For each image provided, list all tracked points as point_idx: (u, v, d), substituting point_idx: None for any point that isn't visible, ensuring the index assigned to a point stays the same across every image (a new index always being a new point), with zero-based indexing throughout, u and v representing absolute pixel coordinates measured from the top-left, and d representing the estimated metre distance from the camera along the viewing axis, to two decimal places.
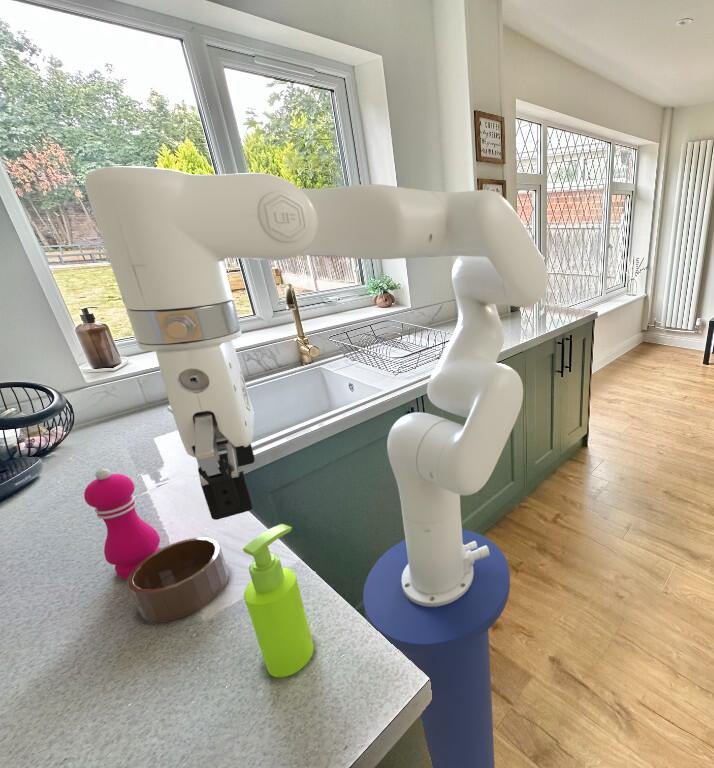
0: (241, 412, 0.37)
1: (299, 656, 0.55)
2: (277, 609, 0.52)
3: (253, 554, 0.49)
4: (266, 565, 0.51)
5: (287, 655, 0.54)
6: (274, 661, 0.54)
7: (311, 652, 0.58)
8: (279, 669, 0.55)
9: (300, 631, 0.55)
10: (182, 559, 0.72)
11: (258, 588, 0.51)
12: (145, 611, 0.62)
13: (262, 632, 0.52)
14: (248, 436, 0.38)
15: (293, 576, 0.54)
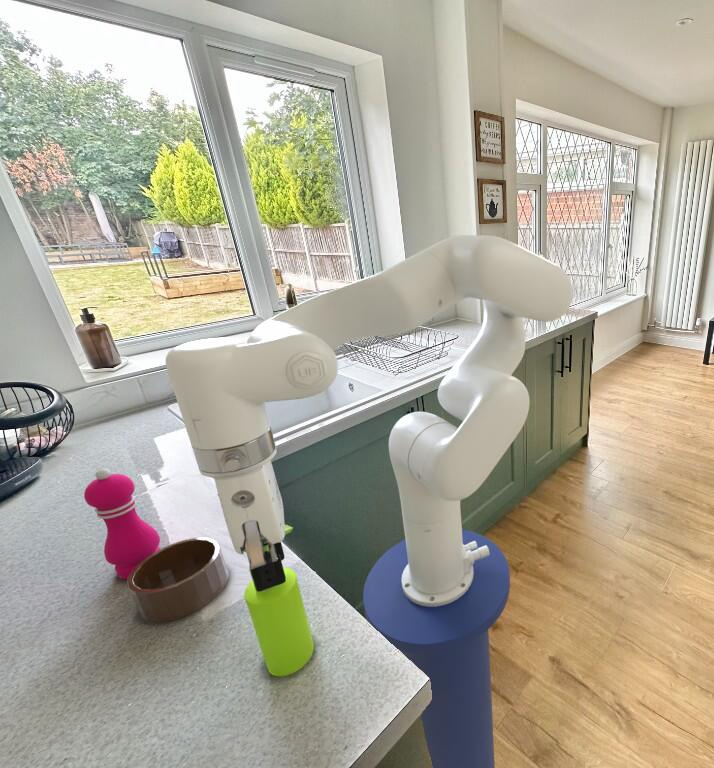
0: (277, 516, 0.47)
1: (299, 656, 0.56)
2: (277, 609, 0.52)
3: None
4: None
5: (287, 655, 0.54)
6: (274, 660, 0.54)
7: (311, 652, 0.58)
8: (279, 668, 0.55)
9: (300, 631, 0.55)
10: (182, 559, 0.72)
11: None
12: (145, 611, 0.62)
13: (262, 631, 0.52)
14: (282, 534, 0.48)
15: (293, 576, 0.54)
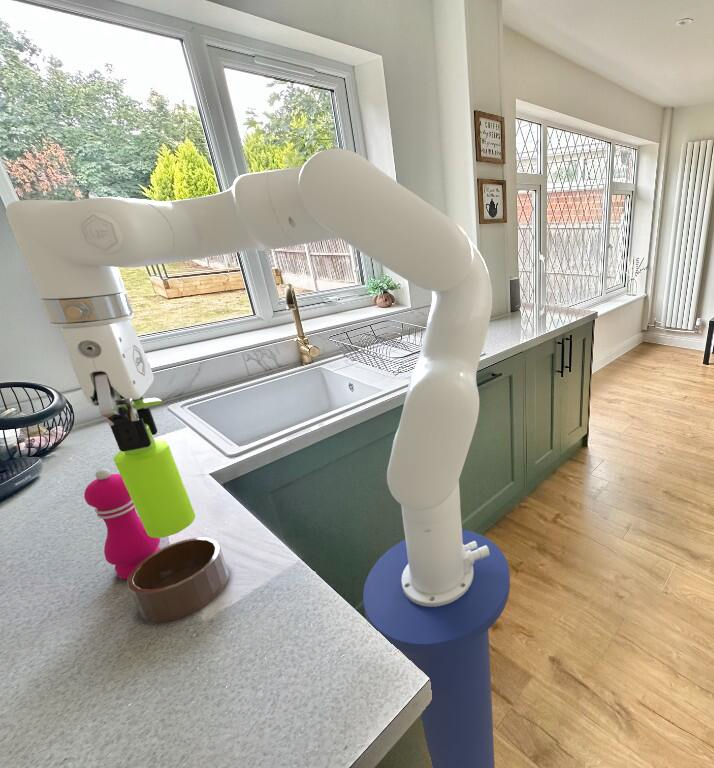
0: (129, 373, 0.51)
1: (172, 521, 0.60)
2: (142, 471, 0.56)
3: None
4: None
5: (159, 517, 0.59)
6: (147, 521, 0.59)
7: (189, 521, 0.63)
8: (153, 529, 0.60)
9: (171, 498, 0.60)
10: (182, 559, 0.72)
11: None
12: (145, 611, 0.62)
13: (131, 491, 0.57)
14: (136, 391, 0.52)
15: (164, 446, 0.59)
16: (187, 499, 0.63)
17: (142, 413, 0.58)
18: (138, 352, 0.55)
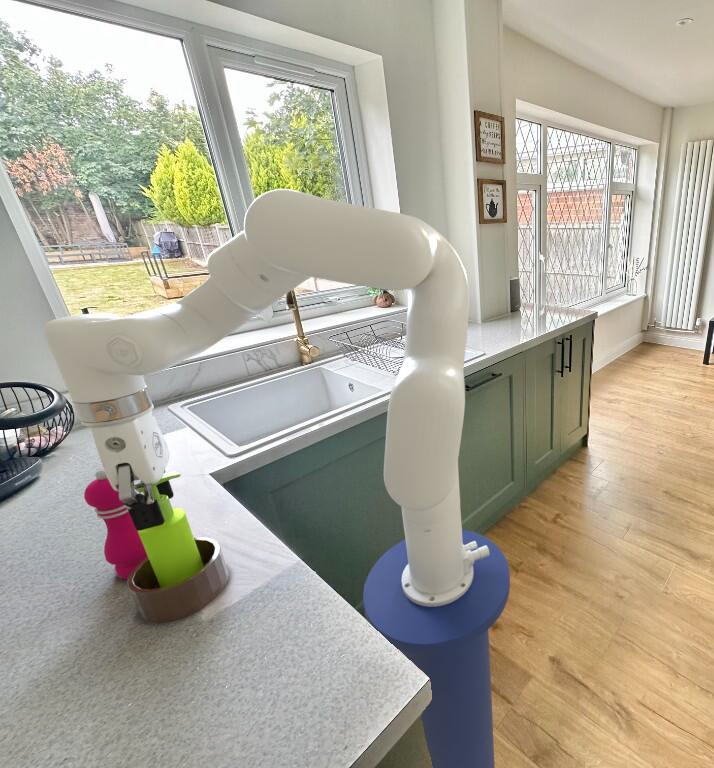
0: (150, 461, 0.57)
1: None
2: (161, 539, 0.63)
3: (139, 491, 0.61)
4: None
5: (174, 579, 0.65)
6: (164, 583, 0.65)
7: None
8: None
9: (186, 561, 0.66)
10: None
11: None
12: (145, 611, 0.62)
13: (151, 557, 0.63)
14: (155, 476, 0.58)
15: (181, 514, 0.65)
16: (200, 561, 0.69)
17: None
18: (156, 436, 0.61)
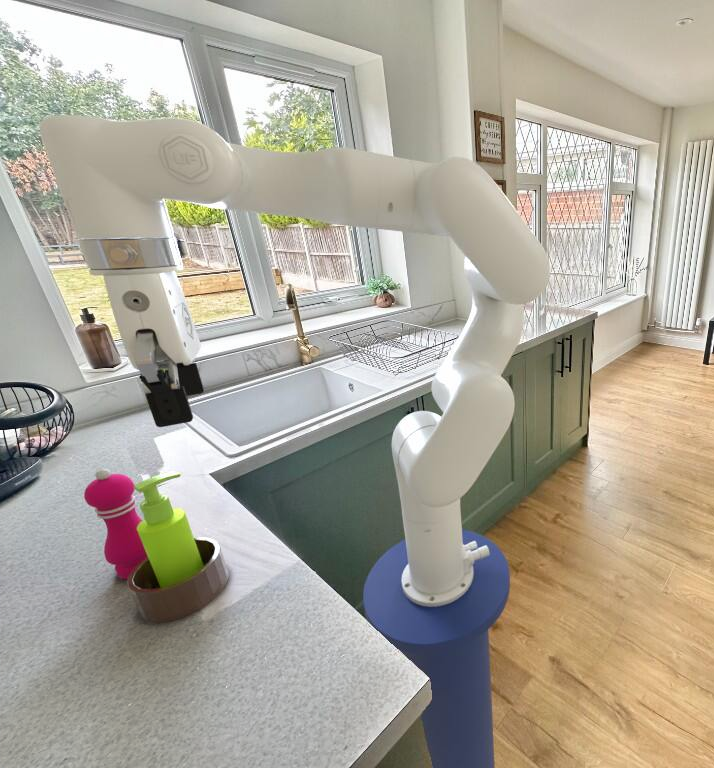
0: (180, 333, 0.43)
1: None
2: (161, 539, 0.63)
3: (139, 491, 0.61)
4: (153, 502, 0.62)
5: (174, 579, 0.65)
6: (164, 583, 0.65)
7: None
8: None
9: (186, 561, 0.66)
10: None
11: (147, 520, 0.62)
12: (145, 611, 0.62)
13: (151, 557, 0.63)
14: (187, 355, 0.44)
15: (181, 514, 0.65)
16: (200, 561, 0.69)
17: (189, 368, 0.52)
18: (186, 312, 0.47)
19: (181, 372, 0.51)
